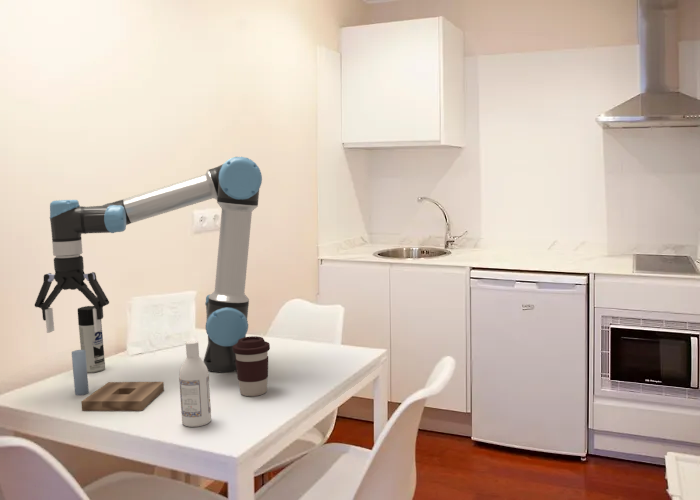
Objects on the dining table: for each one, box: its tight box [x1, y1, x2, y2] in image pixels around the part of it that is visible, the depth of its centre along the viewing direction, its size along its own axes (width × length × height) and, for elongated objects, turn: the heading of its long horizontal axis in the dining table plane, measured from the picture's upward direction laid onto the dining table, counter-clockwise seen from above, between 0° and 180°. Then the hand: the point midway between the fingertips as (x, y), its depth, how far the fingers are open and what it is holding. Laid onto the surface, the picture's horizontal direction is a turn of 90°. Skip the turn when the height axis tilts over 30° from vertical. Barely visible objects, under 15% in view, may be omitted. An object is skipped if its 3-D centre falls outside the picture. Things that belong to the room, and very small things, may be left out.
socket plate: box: [80, 381, 165, 412], centre depth 183 cm, size 16×16×2 cm
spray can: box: [77, 305, 106, 374], centre depth 211 cm, size 7×7×20 cm
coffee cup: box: [233, 335, 271, 397], centre depth 185 cm, size 10×10×15 cm
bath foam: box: [178, 340, 212, 428], centre depth 164 cm, size 7×7×20 cm
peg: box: [71, 349, 90, 396], centre depth 190 cm, size 4×4×12 cm
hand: (74, 331), depth 190 cm, fingers open, 13 cm apart
